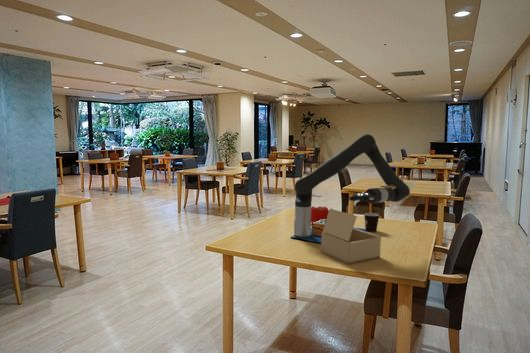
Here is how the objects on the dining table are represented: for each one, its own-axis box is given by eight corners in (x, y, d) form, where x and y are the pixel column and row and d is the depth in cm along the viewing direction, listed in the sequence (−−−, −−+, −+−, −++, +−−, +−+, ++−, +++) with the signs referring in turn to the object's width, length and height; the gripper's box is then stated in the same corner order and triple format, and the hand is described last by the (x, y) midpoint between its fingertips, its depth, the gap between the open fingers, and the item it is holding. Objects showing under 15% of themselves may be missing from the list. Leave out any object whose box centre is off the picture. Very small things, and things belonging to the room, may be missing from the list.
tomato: (311, 227, 245) (312, 208, 243) (305, 221, 259) (306, 204, 257) (332, 226, 247) (332, 208, 245) (325, 221, 261) (325, 203, 259)
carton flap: (323, 231, 194) (330, 208, 195) (348, 241, 178) (356, 216, 179) (322, 231, 194) (329, 208, 194) (348, 241, 178) (355, 215, 178)
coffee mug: (378, 232, 233) (379, 216, 231) (364, 232, 234) (364, 215, 233) (377, 228, 244) (378, 212, 243) (363, 227, 246) (363, 211, 244)
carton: (351, 246, 206) (352, 227, 205) (381, 257, 188) (382, 237, 187) (320, 251, 196) (320, 232, 195) (348, 264, 178) (349, 243, 177)
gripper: (367, 186, 202) (341, 188, 193) (387, 189, 190) (360, 192, 182) (367, 200, 203) (341, 203, 194) (386, 205, 191) (359, 208, 183)
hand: (350, 198), depth 188 cm, fingers closed
